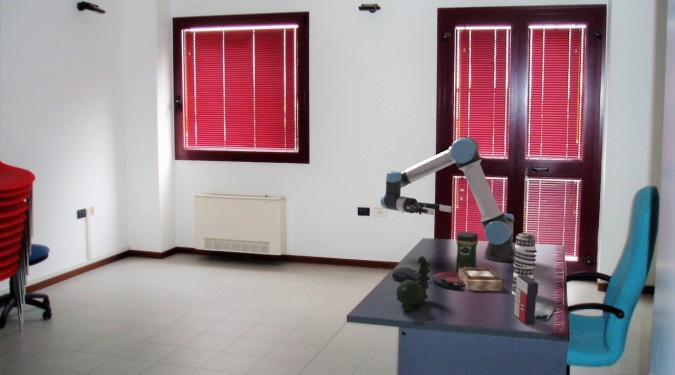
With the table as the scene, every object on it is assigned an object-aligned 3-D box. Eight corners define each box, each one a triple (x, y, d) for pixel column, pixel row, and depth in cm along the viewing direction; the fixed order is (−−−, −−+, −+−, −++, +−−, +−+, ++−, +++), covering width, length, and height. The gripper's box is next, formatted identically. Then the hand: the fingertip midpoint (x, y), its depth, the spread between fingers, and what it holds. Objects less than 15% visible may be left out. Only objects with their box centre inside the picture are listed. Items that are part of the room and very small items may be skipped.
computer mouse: (396, 275, 286) (396, 263, 285) (465, 287, 270) (466, 274, 269) (387, 280, 277) (387, 268, 277) (458, 292, 262) (459, 279, 261)
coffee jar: (478, 271, 296) (480, 231, 293) (474, 275, 289) (476, 234, 286) (457, 268, 300) (459, 229, 297) (453, 272, 293) (455, 232, 290)
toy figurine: (411, 300, 255) (388, 312, 232) (414, 253, 254) (391, 260, 231) (434, 304, 250) (413, 316, 228) (437, 256, 249) (416, 263, 227)
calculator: (512, 314, 234) (515, 274, 232) (524, 314, 234) (526, 274, 232) (524, 325, 223) (526, 283, 221) (536, 324, 224) (538, 283, 222)
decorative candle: (535, 292, 263) (539, 233, 260) (532, 298, 255) (536, 237, 251) (512, 289, 267) (516, 230, 264) (509, 295, 258) (512, 234, 255)
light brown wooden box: (489, 277, 284) (490, 266, 284) (501, 290, 264) (502, 278, 264) (458, 277, 284) (458, 265, 283) (467, 290, 264) (468, 278, 264)
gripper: (422, 209, 327) (457, 215, 312) (390, 214, 309) (425, 221, 294) (423, 195, 326) (458, 200, 311) (391, 199, 308) (426, 205, 294)
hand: (442, 210), depth 303 cm, fingers open, 13 cm apart
